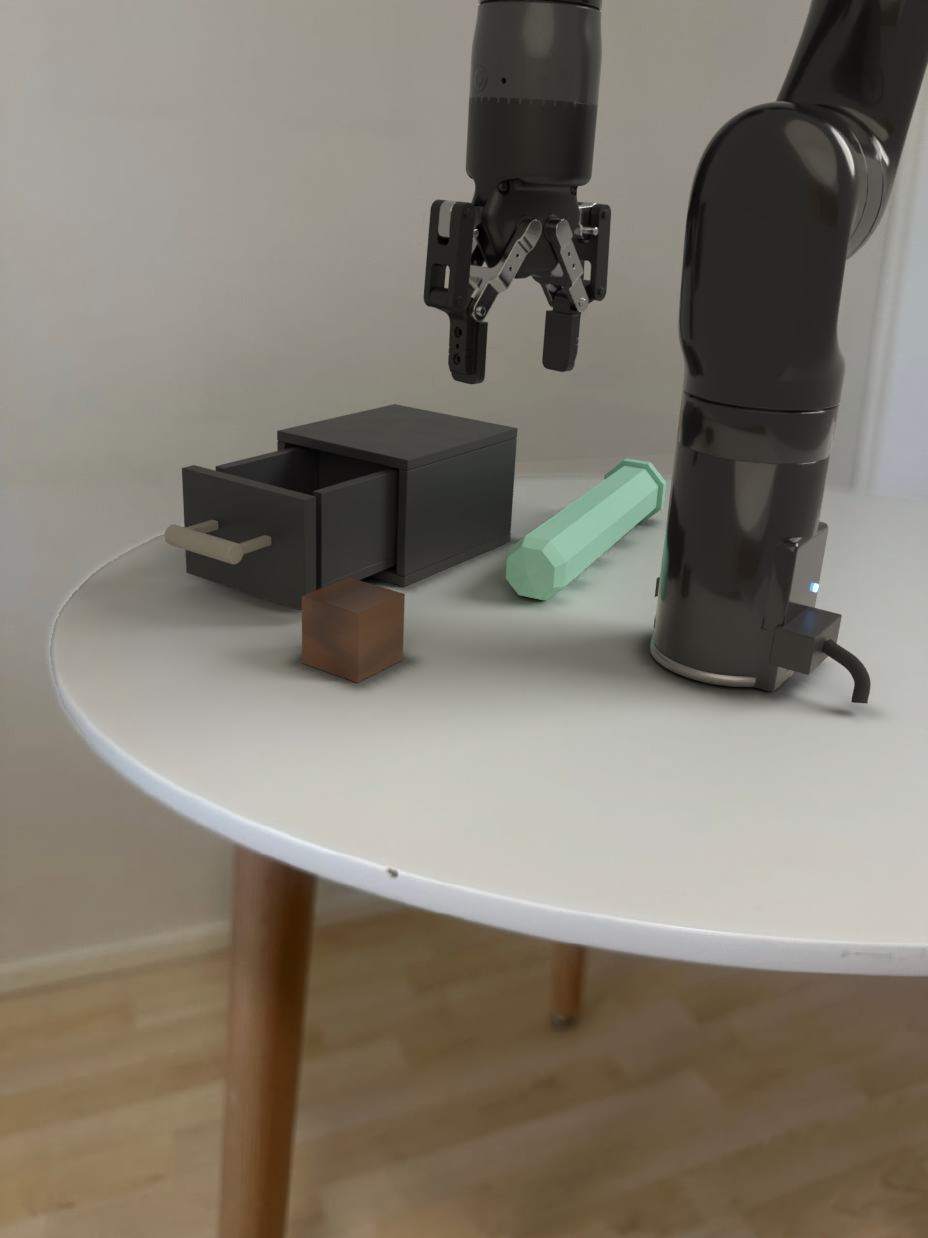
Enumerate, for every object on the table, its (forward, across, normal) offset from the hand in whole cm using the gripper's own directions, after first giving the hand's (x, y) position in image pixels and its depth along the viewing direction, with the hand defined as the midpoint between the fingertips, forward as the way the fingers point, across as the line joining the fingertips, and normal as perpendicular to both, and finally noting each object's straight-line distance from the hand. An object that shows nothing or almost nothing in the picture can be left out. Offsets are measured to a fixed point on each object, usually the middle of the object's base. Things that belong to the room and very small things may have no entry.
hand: (514, 375), depth 73 cm
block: (+17, -12, +1) cm, 21 cm away
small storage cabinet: (+17, +6, +16) cm, 24 cm away
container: (+17, +16, +5) cm, 24 cm away
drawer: (+16, -7, +14) cm, 23 cm away
